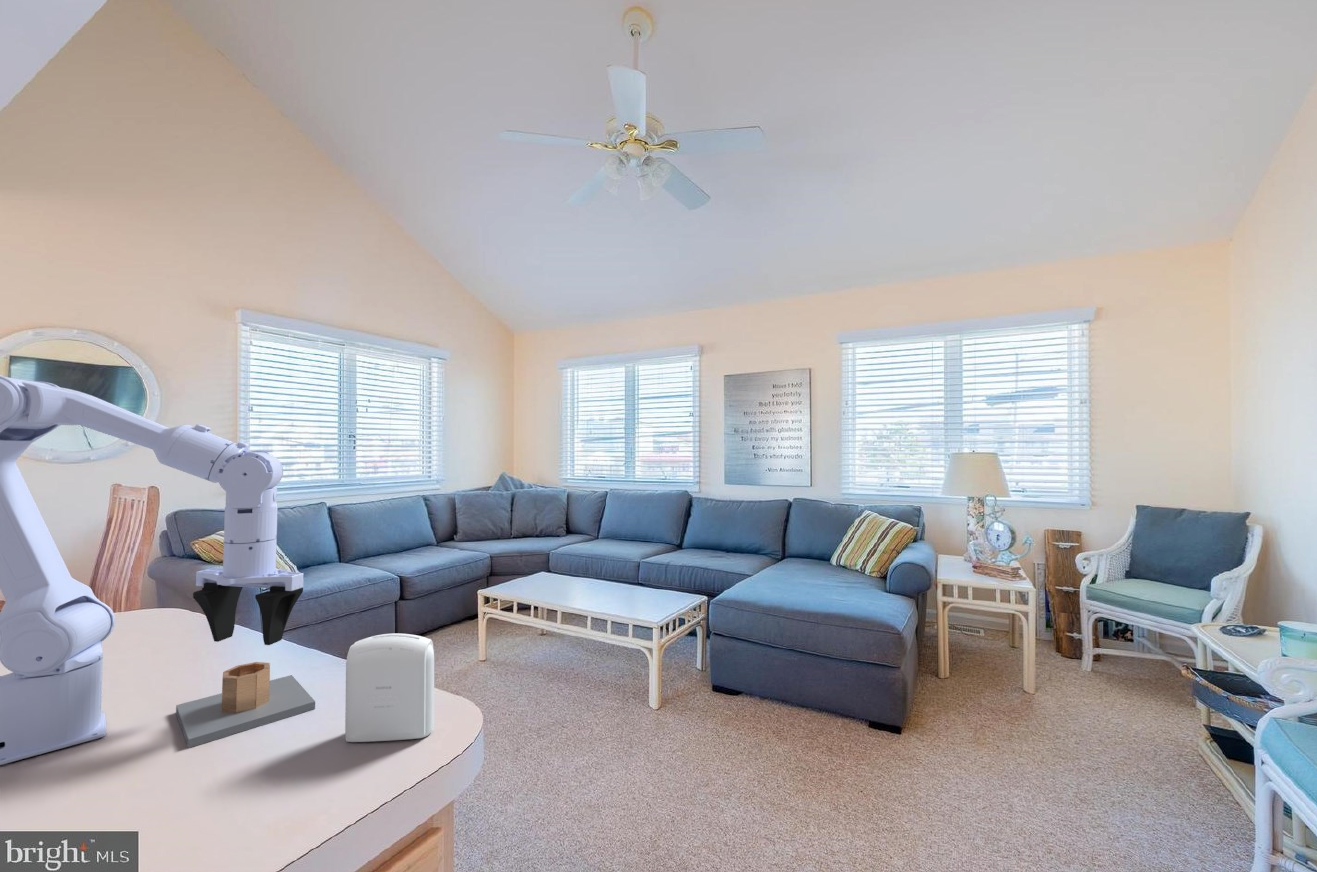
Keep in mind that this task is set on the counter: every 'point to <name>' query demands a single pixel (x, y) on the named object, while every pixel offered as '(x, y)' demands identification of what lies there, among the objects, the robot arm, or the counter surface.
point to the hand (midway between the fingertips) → (248, 640)
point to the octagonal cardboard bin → (245, 687)
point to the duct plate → (211, 723)
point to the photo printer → (389, 688)
